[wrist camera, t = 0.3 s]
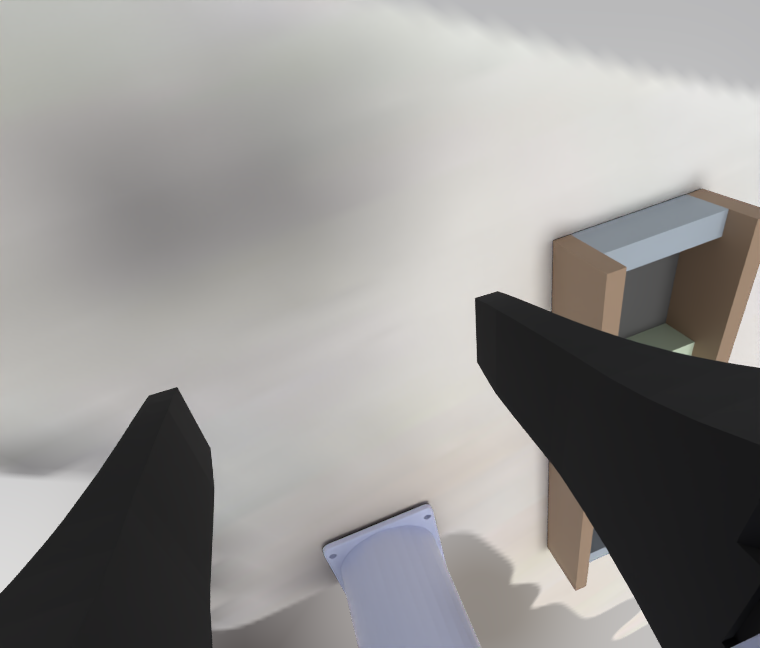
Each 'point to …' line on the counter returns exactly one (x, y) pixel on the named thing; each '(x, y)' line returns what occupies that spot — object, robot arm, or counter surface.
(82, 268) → the counter surface
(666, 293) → the trap track
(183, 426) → the robot arm
